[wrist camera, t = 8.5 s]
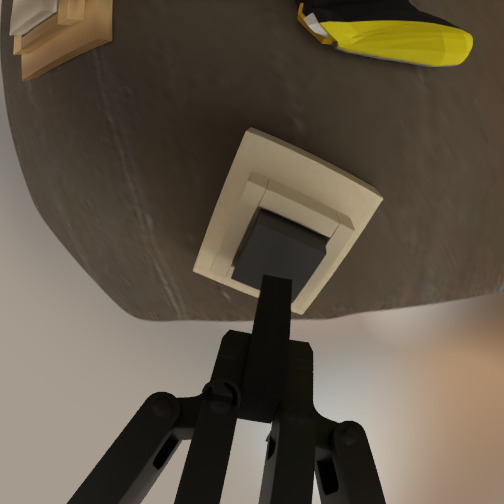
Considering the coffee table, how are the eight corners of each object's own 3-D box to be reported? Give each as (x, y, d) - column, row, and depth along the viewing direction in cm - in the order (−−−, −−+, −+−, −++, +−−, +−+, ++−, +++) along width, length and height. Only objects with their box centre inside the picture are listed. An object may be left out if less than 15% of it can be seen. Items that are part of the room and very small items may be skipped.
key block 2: (250, 126, 18) (240, 134, 14) (376, 188, 19) (392, 210, 15) (199, 257, 24) (184, 286, 21) (302, 300, 25) (301, 332, 22)
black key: (261, 207, 17) (257, 222, 15) (324, 236, 17) (327, 253, 16) (236, 260, 19) (230, 279, 18) (293, 284, 20) (292, 304, 18)
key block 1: (41, -15, 10) (14, -17, 6) (118, -60, 8) (93, -73, 5) (36, 78, 16) (6, 83, 13) (112, 41, 14) (80, 37, 11)
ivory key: (30, -4, 8) (14, -5, 6) (64, -28, 8) (47, -32, 6) (26, 34, 11) (9, 35, 9) (59, 11, 10) (41, 9, 8)
